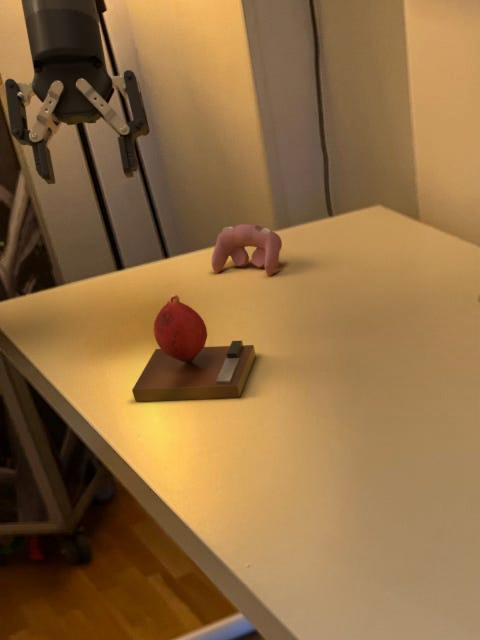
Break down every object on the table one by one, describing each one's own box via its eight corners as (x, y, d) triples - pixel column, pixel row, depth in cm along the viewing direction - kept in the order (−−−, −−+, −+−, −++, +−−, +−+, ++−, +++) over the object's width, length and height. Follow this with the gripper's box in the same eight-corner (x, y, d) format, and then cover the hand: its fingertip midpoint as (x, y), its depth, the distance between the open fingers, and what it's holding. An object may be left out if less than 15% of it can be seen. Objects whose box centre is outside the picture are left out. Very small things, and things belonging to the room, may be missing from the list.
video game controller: (284, 278, 144) (286, 227, 142) (271, 274, 140) (272, 222, 138) (223, 275, 146) (223, 224, 144) (208, 271, 142) (208, 219, 140)
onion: (184, 377, 113) (167, 309, 108) (152, 366, 116) (134, 299, 110) (223, 359, 116) (207, 292, 111) (191, 348, 119) (175, 282, 114)
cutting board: (135, 402, 112) (129, 382, 110) (158, 360, 120) (153, 341, 119) (239, 397, 112) (235, 378, 110) (255, 356, 120) (252, 337, 119)
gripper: (-19, 9, 102) (12, 173, 105) (121, 0, 104) (148, 161, 106) (6, 43, 110) (34, 195, 112) (136, 33, 111) (161, 184, 114)
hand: (89, 178), depth 109 cm, fingers open, 8 cm apart
